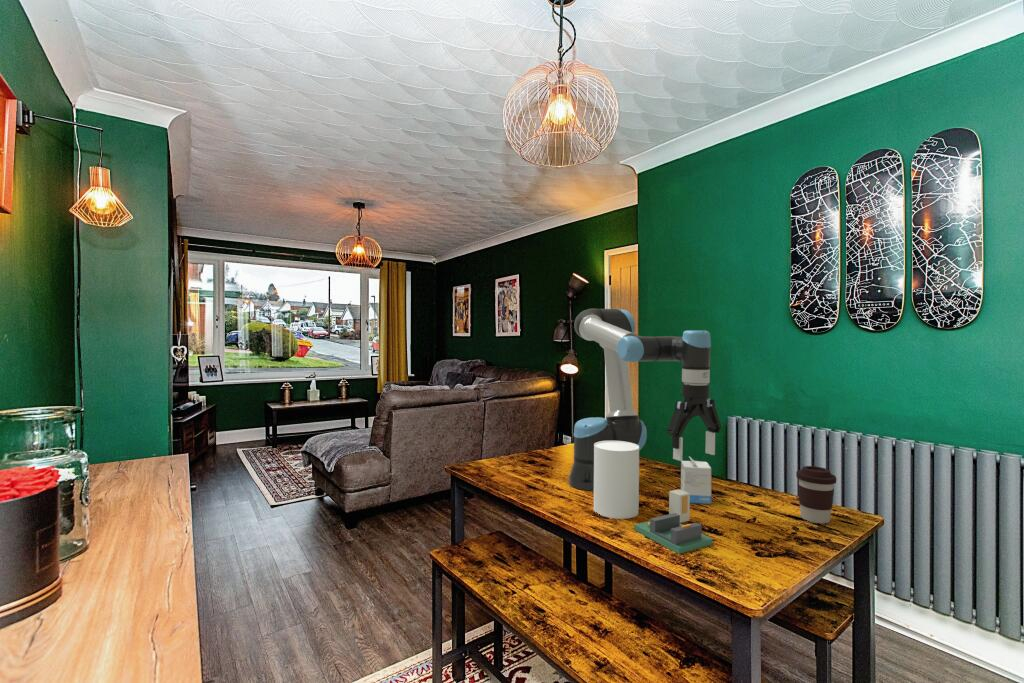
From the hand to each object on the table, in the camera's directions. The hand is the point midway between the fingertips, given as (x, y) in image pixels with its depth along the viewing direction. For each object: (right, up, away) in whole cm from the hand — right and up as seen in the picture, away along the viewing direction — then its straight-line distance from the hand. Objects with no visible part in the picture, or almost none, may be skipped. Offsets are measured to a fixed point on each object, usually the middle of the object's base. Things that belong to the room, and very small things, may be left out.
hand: (694, 456), depth 138 cm
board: (-10, -19, -11) cm, 24 cm away
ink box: (+8, -19, +19) cm, 28 cm away
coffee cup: (+36, -19, +2) cm, 41 cm away
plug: (-4, -19, +2) cm, 19 cm away
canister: (-21, -19, +9) cm, 29 cm away
